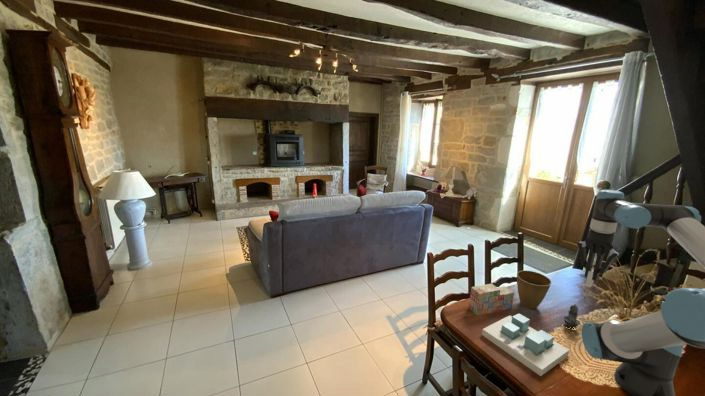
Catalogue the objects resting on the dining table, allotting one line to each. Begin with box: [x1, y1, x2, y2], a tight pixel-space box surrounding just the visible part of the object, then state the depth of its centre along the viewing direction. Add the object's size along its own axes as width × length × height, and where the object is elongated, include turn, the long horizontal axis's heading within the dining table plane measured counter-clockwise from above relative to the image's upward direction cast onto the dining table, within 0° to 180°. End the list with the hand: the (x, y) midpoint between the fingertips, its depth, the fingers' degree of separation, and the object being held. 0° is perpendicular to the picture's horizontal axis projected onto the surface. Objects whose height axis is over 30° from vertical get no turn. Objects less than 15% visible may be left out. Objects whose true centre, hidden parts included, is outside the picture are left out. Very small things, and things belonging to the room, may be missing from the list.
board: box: [481, 315, 570, 377], centre depth 122 cm, size 25×20×3 cm
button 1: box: [501, 322, 520, 340], centre depth 124 cm, size 5×5×5 cm
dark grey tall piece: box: [562, 304, 580, 329], centre depth 132 cm, size 6×6×12 cm
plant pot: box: [516, 270, 552, 310], centre depth 148 cm, size 15×15×16 cm
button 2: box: [511, 313, 531, 333], centre depth 127 cm, size 5×5×5 cm
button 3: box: [524, 332, 546, 355], centre depth 116 cm, size 5×5×5 cm
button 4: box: [536, 329, 555, 350], centre depth 119 cm, size 5×5×5 cm
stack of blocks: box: [468, 283, 515, 316], centre depth 145 cm, size 21×6×12 cm, turn 106°
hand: (588, 285), depth 115 cm, fingers closed
